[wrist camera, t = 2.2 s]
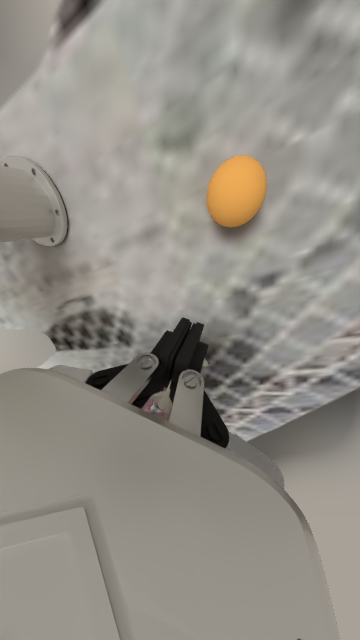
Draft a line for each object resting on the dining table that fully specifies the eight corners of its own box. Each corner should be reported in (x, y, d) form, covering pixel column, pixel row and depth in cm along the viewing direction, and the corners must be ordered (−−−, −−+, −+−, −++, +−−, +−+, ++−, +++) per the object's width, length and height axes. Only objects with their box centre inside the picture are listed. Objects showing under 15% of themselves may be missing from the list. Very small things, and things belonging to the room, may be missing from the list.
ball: (206, 221, 22) (195, 222, 17) (219, 160, 19) (210, 141, 14) (251, 230, 21) (253, 234, 16) (273, 168, 18) (284, 150, 13)
